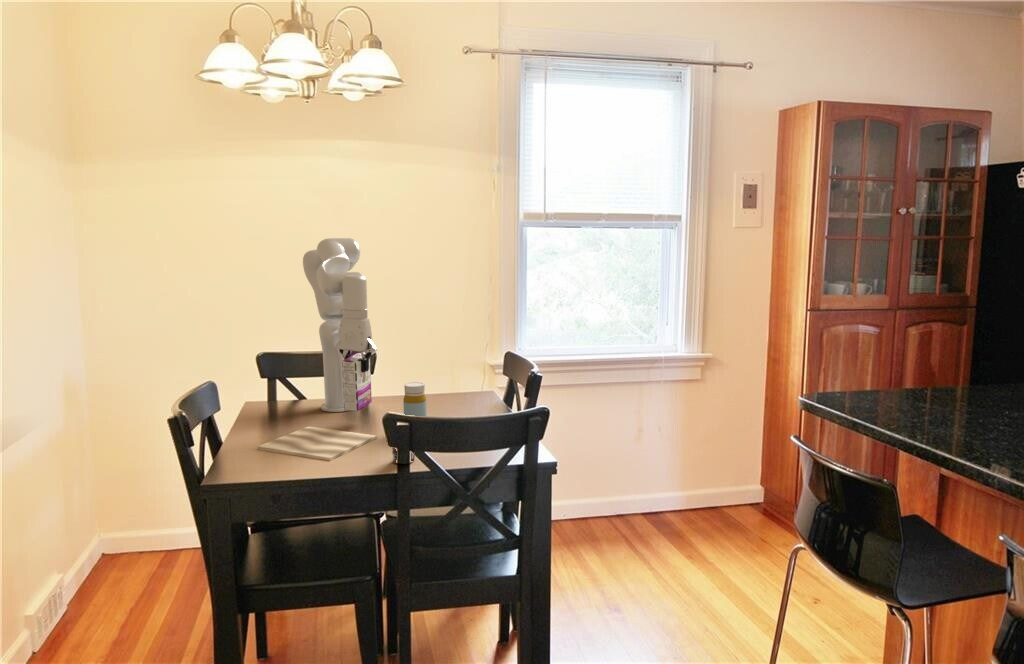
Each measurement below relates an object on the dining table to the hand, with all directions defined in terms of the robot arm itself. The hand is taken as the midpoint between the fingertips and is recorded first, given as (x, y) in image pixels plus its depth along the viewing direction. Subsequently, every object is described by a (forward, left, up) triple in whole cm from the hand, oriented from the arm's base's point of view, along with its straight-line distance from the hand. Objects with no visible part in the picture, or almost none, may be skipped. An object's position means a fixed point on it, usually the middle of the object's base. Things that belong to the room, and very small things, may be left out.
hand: (356, 369), depth 215 cm
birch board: (+20, 0, -18) cm, 27 cm away
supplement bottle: (+24, +32, -19) cm, 44 cm away
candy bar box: (0, 0, -12) cm, 12 cm away
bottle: (-2, +20, -19) cm, 27 cm away
